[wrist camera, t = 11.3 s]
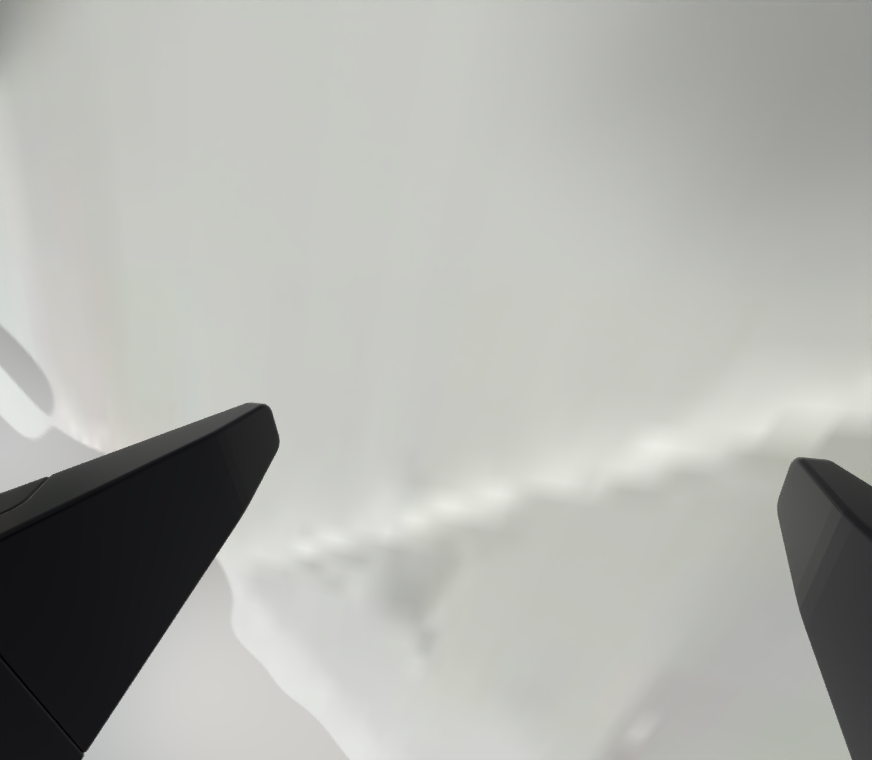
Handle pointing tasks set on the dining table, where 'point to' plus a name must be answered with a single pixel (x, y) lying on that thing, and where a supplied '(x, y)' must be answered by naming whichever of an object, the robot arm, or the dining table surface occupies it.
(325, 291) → the dining table surface
